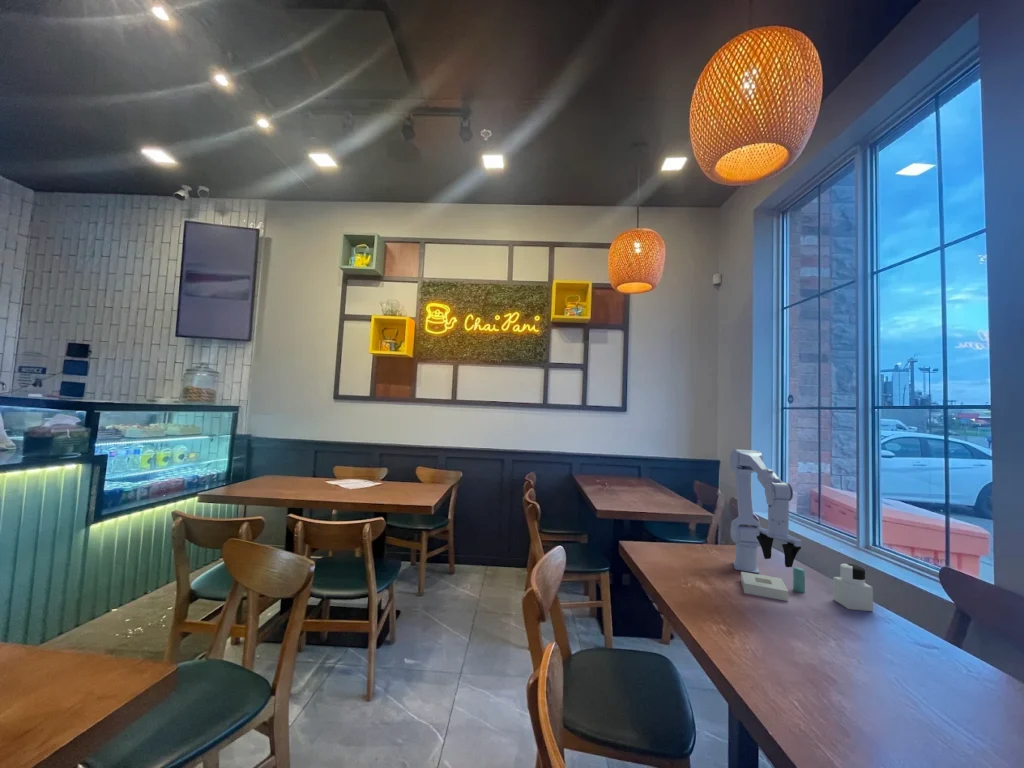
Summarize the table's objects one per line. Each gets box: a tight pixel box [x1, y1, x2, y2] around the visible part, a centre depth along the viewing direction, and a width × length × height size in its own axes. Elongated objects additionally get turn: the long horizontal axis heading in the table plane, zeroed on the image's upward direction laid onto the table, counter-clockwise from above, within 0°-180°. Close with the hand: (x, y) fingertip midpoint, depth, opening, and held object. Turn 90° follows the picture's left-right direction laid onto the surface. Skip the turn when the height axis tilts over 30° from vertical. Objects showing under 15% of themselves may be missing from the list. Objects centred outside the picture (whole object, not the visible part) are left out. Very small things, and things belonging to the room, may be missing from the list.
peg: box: [792, 566, 806, 594], centre depth 142 cm, size 3×3×7 cm
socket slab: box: [740, 571, 789, 602], centre depth 141 cm, size 12×12×3 cm
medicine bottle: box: [832, 562, 874, 612], centre depth 133 cm, size 7×7×12 cm
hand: (777, 562), depth 140 cm, fingers open, 7 cm apart
